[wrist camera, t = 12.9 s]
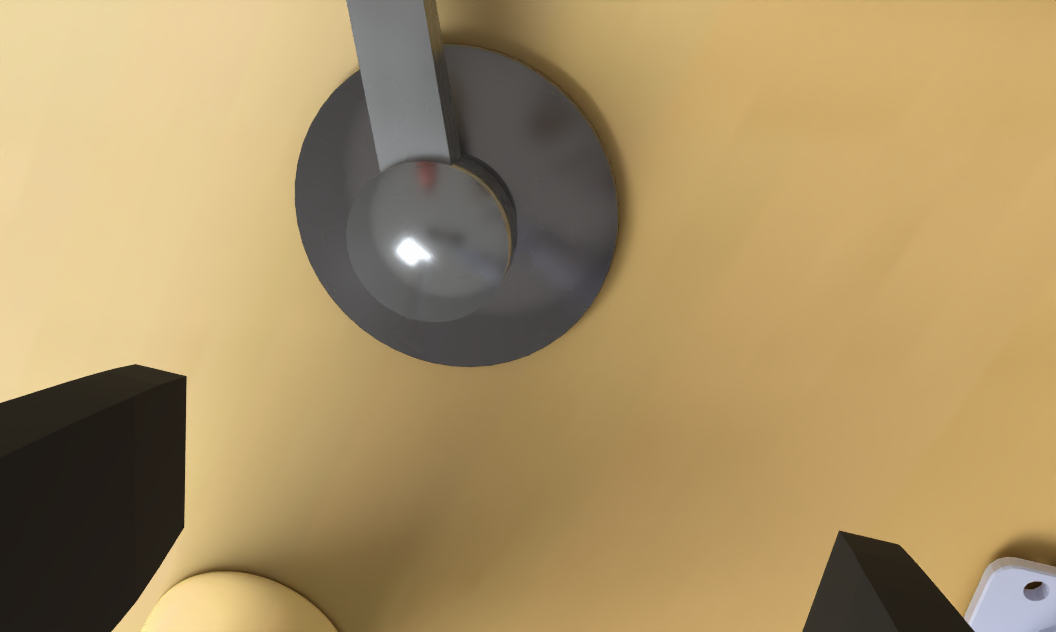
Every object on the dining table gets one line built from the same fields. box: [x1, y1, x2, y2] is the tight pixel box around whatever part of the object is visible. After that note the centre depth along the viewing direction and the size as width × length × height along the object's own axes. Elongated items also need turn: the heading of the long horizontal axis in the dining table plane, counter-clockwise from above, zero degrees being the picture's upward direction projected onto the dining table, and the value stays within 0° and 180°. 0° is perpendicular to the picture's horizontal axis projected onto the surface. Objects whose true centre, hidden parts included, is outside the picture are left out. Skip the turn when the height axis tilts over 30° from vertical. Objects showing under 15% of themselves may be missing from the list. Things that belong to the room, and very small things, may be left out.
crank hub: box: [295, 44, 619, 367], centre depth 19 cm, size 7×7×1 cm
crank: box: [346, 0, 518, 322], centre depth 16 cm, size 9×3×4 cm, turn 7°
